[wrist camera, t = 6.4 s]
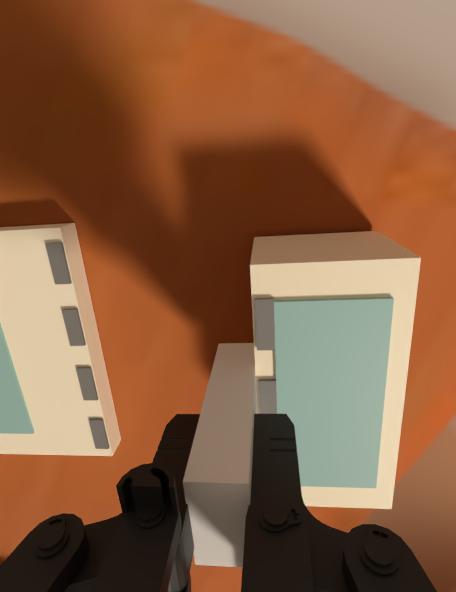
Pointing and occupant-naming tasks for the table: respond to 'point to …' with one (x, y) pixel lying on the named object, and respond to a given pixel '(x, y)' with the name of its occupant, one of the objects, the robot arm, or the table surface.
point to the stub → (336, 356)
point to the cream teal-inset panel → (50, 349)
